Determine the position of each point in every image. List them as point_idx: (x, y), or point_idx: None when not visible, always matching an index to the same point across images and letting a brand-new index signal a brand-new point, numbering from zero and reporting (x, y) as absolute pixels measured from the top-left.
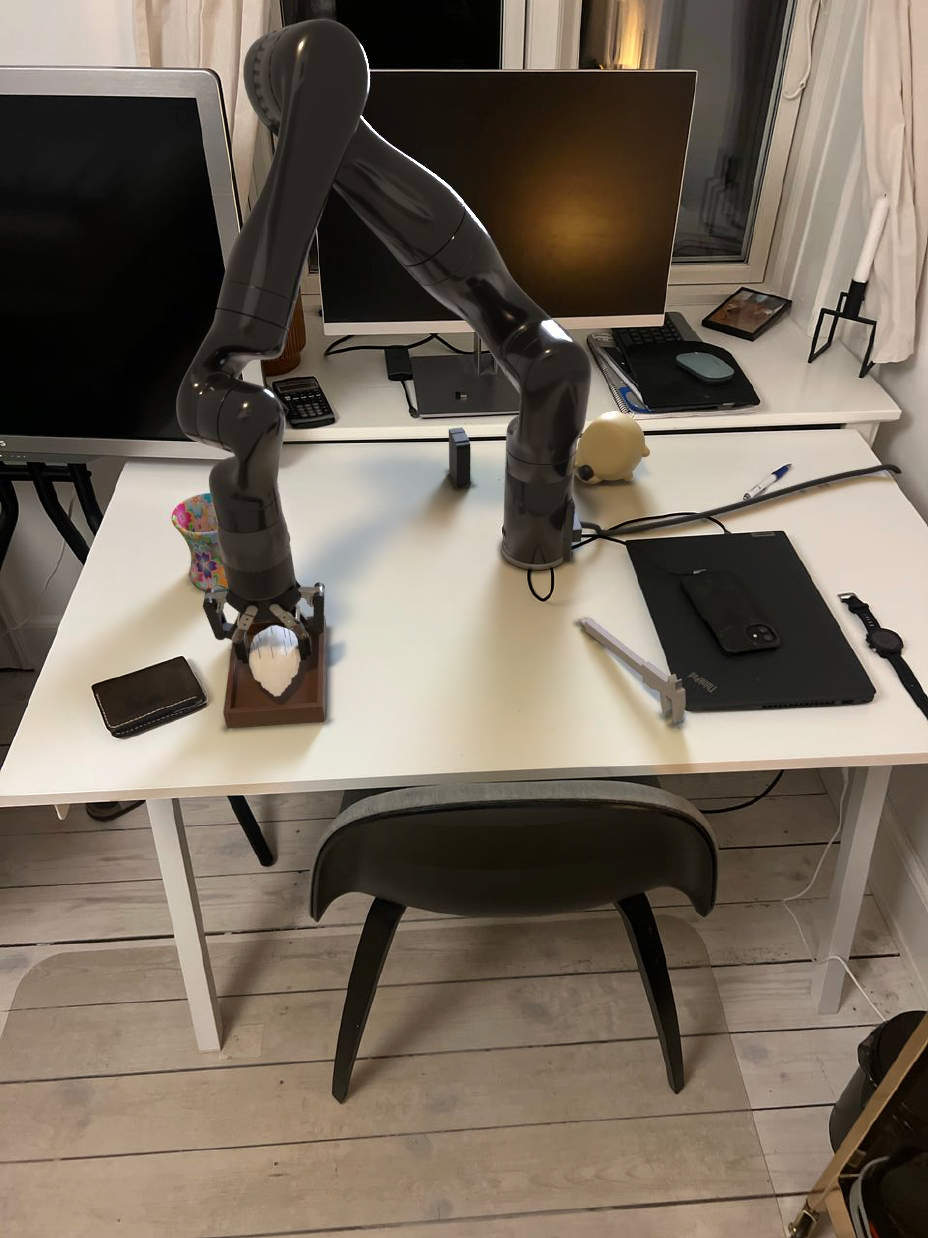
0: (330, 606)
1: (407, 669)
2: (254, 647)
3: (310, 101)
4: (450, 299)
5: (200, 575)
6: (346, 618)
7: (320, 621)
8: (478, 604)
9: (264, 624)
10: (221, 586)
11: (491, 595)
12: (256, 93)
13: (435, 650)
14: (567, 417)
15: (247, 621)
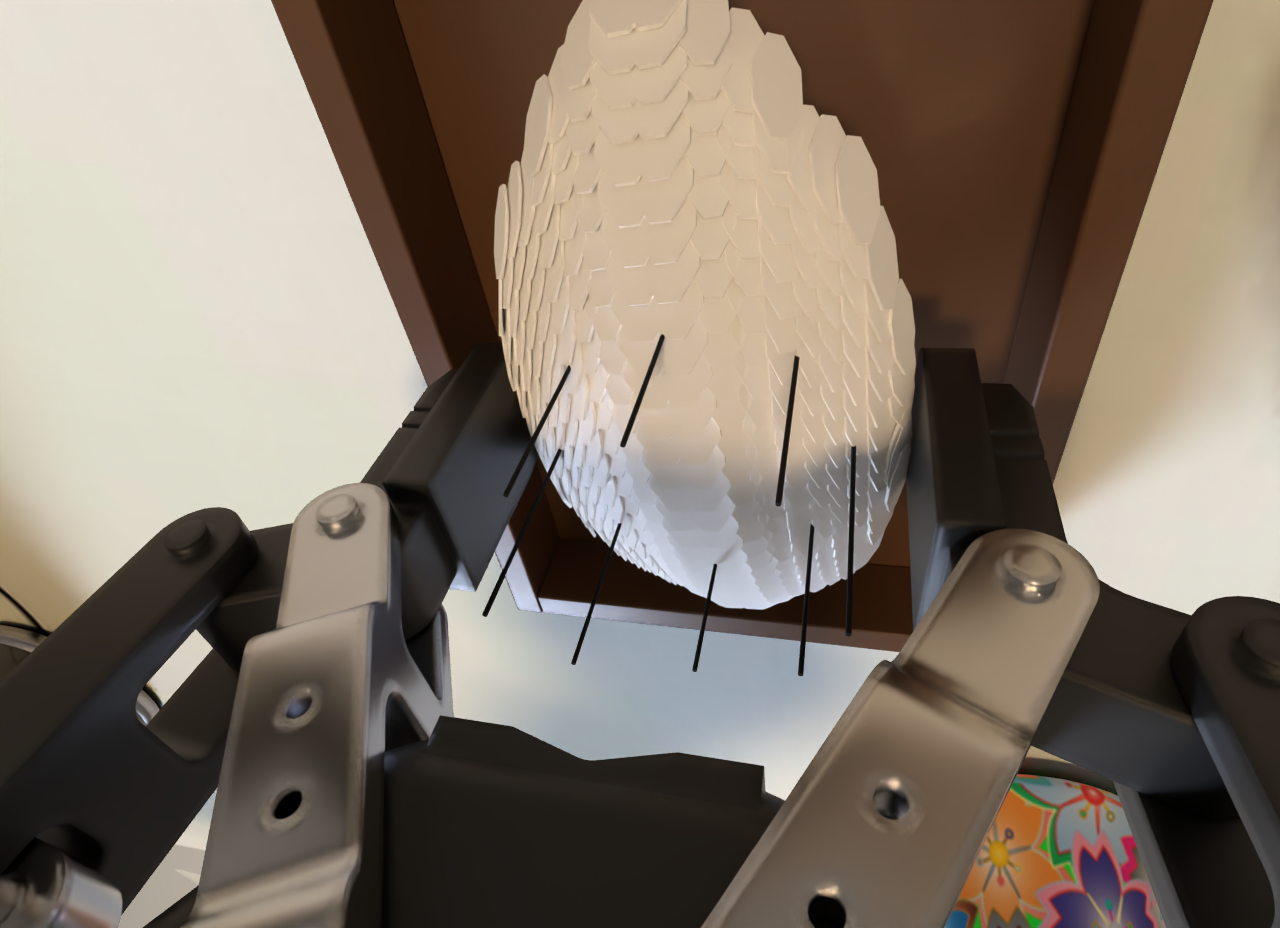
0: (568, 629)
1: (97, 282)
2: (856, 475)
3: None
4: None
5: (1133, 870)
6: (488, 573)
7: (84, 632)
8: (79, 551)
9: (821, 615)
10: (1033, 796)
11: (69, 574)
12: None
13: (64, 380)
14: None
15: (831, 863)
